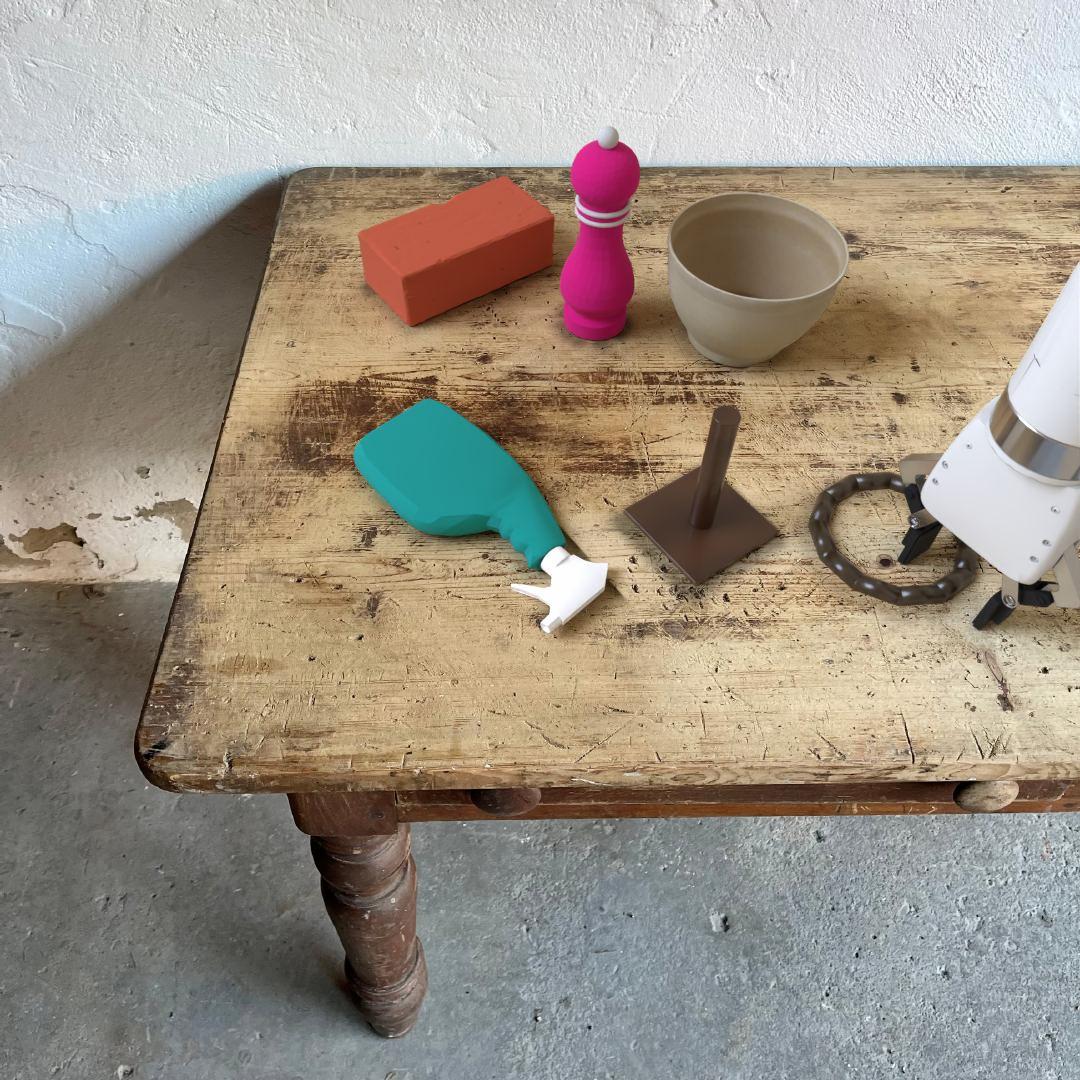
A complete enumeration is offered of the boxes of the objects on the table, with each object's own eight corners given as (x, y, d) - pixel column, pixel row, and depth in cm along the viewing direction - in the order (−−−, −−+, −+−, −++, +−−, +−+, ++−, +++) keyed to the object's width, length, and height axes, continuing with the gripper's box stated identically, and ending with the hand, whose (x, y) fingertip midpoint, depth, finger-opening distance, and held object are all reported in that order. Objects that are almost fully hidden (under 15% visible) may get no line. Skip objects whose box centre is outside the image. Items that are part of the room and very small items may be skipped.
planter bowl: (681, 404, 82) (699, 309, 74) (636, 296, 92) (647, 200, 83) (844, 382, 84) (880, 287, 76) (783, 278, 94) (809, 183, 85)
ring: (1007, 558, 72) (1015, 546, 71) (897, 639, 68) (904, 627, 66) (882, 459, 79) (888, 446, 77) (774, 526, 74) (779, 514, 73)
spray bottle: (441, 409, 82) (636, 573, 71) (343, 469, 77) (535, 654, 67) (439, 386, 79) (640, 552, 69) (337, 446, 75) (536, 634, 64)
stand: (776, 539, 73) (818, 426, 63) (693, 592, 70) (723, 482, 59) (703, 472, 77) (730, 355, 67) (622, 518, 74) (637, 403, 64)
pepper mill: (554, 340, 88) (560, 146, 72) (563, 294, 92) (570, 102, 76) (627, 348, 87) (650, 154, 71) (632, 301, 91) (655, 109, 75)
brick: (409, 328, 88) (402, 277, 84) (364, 282, 93) (355, 231, 88) (554, 265, 95) (556, 214, 90) (506, 224, 99) (505, 174, 94)
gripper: (1221, 487, 53) (1073, 641, 67) (981, 328, 61) (895, 495, 75) (1148, 545, 50) (1010, 692, 64) (908, 370, 58) (833, 535, 73)
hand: (949, 585), depth 70 cm, fingers open, 6 cm apart
